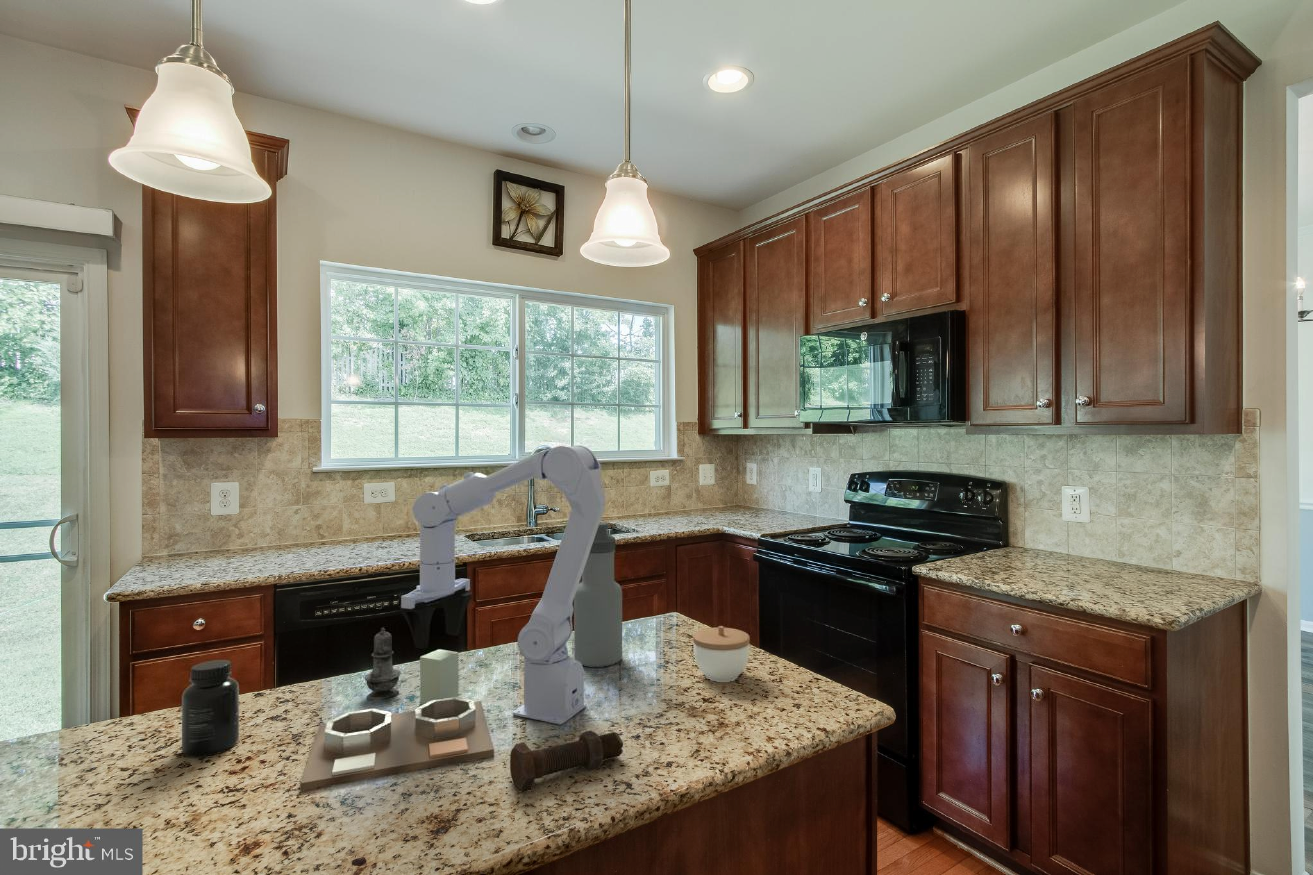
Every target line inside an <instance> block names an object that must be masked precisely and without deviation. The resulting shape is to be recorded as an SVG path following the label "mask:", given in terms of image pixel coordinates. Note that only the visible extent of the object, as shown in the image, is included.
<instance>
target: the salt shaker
mask: <svg viewBox="0 0 1313 875" xmlns="http://www.w3.org/2000/svg"><path fill="white" fill-rule="evenodd" d="M385 630H386V629H385V627H384V626H383V627H381V629H380V631H379V632H378V633H376V634H375V636H374V638H373V653H371V657H373V667H372V670H371V672H369V673H367V674H366V675H365V676H364V680H365V681H366V687H367V688H368V689H369V690H371V692H369V693H367V695H366V700H367V701H369V702H375V703H376V702H377V703H379V702H385V701H389V700H392V699H395V698H396V697H398V696H399V694H400V691H399V690H398V689H396V688H395V687H396V686H397V685H398V682H399V679H400V676H401V674H402V673H401V670H398V669H396V668H395V669H394V667H393V655H394V653H395V652H394V650H392V644H393V642H392V634H391V633H390V632H388V631H385Z"/></svg>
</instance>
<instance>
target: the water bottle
mask: <svg viewBox="0 0 1313 875" xmlns="http://www.w3.org/2000/svg"><path fill="white" fill-rule="evenodd" d="M607 530H609V523H608V522H606V521H600V523H599V526H598V529H597V532H596V535H595V538H594V541H593V544H592V547H591V550H590V553H589V556H588V558H587V561H586V564H585V567H584V570H583V573H582V576H581V581H580V582H579V585H578V588H577V591H576V594H575V596H574V599H573V608H574V611H573V615H574V616H573V617H574V618H573V622H574V624H573V627H574V628H573V630H574V632H573V634H574V635H573V636H574V637H573V638H574V639H573V641H574V644H573V645H574V646H573V648H574V649H573V650H574V651H573V652H574V658H573V659H574V660H577V661H579V662H581V664H582V666H583V665H584V666H583V667H587V666H589V668H604V666H606V667H609V665H610V666H613V665H616V664H617V663H619V662H620V661H621V660H622V658H623V590H622V587H621V585H620V584H619V583H618V582H616V580H615V553H616V537H615V536H613V535H612V534H607V533H608V532H607ZM615 663H616V664H615Z"/></svg>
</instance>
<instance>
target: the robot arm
mask: <svg viewBox="0 0 1313 875" xmlns="http://www.w3.org/2000/svg"><path fill="white" fill-rule="evenodd" d="M601 470H602V464H601V463H600V461H599V460H598V459H597V457H596V456H595V454H594V452H592V450H590V449H589V448H588V447H586V446H584V445H572V446H567V445H556V446H555V447H552V448H551V449H550V450H549V449H546V450H541V451H539V452H536V453H533V454H530V455H529V456H527V457H524V458H522V459H520V460H518V461H516V462H514V463H512V464H510V465H508V466H506V467H504V468H501V469H499V470H498V471H495V472H494V473H492V474H490V475H487V474H484V473H481V472H476V473H474V472H473V471H472V472H471V471H469V472H467V473H465V474H463V475H462V476H463V478H462V479H460V480H458V481H455V482H454V483H453V482H452V483H451V484H448V483H446V484H442V485H440V486H439V490H438V491H435V492H433V491H426V492H424V493H422V495H420V496H418V497H417V499H416V500H415V501H414V503H413V506H412V514H413V517H414V519H415V520H416V522H417V523H418V524H419V585H416V587H415V588H416V589H414V590H412V591H410V592H409V593H407V594H404V595H401V596H400V598H401V599H400V600H401V601H400V607H399V608H400V612H401V614H402V616H403V618H404V619H405V621H406V623H407V624H408V627H409V630H410V632H411V636H412V639H413V643H414V647H415V648H418V649H423V650H424V649H427V648H428V647H429V641H430V628H431V622H432V617H433V614H434V612H435V609H436V608H435V607H429V606H428V605H427V604H426V603H429V602H431V601H435V600H438V599H440V600H441V602H442V606H443V611H444V619H445V633H446V635H450V636H459V634H460V629H461V625H462V622H463V618H464V616H465V612H466V610H467V607H468V605H469V603H470V602H471V600H472V599H473V596H472V595H473V594H472V592H469V591H470V590H471V587H470V586H471V584H470V583H471V581H470V580H471V579H469V578H458V579H456V522H457V520H458V519H459V518H460V517H463V516H465V515H467V514H470V513H472V512H475V511H476V510H479V509H481V508H484V507H486V506H488V505H491V504H492V503H493V501H494V499H495V497H496V494H498V493H499V492H502V491H504V490H508V489H510V488H512V487H515V486H518V485H520V484H522V483H525V482H527V481H529V480H532V479H538V480H548V481H549V482H550V483H551V484H552V485H553V486H555V487H556V488H557V489H558V490H559V491H560V492H561V493H563V494H564V497H565V498H566V500H567V502H568V504H569V505H570V508H571V510H570V513H569V516H568V520H567V523H566V526H565V528H564V532H563V535H562V536H561V540H560V543H559V547H558V549H557V552H556V555H555V558H554V561H553V564H552V567H551V569H550V573H549V576H548V578H547V582H546V584H545V587H544V590H543V593H542V597H541V598H540V600H539V602H538V603H537V605H536V607H535V608H534V610H533V612H532V613H531V615H530V619H529V621H528V622H527V623H526V624H525V625H524V627H522V629H521V630H520V631H519V633H518V635H517V647H518V651H519V653H520V654H521V655H522V657H523V704H522V705H521V706H519V707H517V708H516V709H514V710H513V711H512V715H513V716H517V717H523V718H527V719H532V720H536V721H543V722H546V723H550V724H555V725H562V724H564V723H565V722H567V721H568V720H570V719H571V718H572V717H574V716H575V715H576V714H578V713H579V712H580V711H581V710H583V709H584V708H585V707H587V703H586V702H585V683H584V682H585V673H584V666H583V665H582V664H581V662H579V661H577V660H575V658H572V657H571V656H570V655H569V651H568V647H567V642H568V641H569V640H570V638H571V636H572V633H573V622H572V617H573V615H574V596H575V594H576V591H577V588H578V585H579V584H580V583H581V580H582V573H583V570H584V567H585V564H586V561H587V558H588V556H589V553H590V550H591V547H592V544H593V541H594V538H595V535H596V532H597V529H598V526H599V523H600V522H601V520H602V517H603V514H604V511H605V508H606V501H607V500H606V496H605V492H604V491H605V490H604V485H603V480H602V475H601V474H602V472H601Z"/></svg>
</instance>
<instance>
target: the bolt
mask: <svg viewBox="0 0 1313 875" xmlns="http://www.w3.org/2000/svg"><path fill="white" fill-rule="evenodd" d="M623 747H624V742H623V740H622V738H621V737H620V735H619V733H617V732H616V731H612V732H609V733H604V734H600V735H599V734H598V733H596V732H595V731H593V730H587V731H582V733H581V734H580V735H579V737H578V740H574V741H571V742H567V743H562V744H557V745H554V746H549V747H545V748H541V749H539V748H537V749H532V750H531V748H530V747H529V746H528V745H527V744H526V742H524V741H522V742H520V743H519V742H518V743H516V744H515V745H514V746H513V747H512V748H511V751H510V758H509V770H510V771H509V772H510V777H511V780H512V784H513V786H514V788H515V789H516V790H517V792H520V793H522V794H523V793H526V792H529V791H530V792H531V791H532V789H533V786H534V782H535V780H537V779H538V780H539V779H541V778H543V777H544V776H546V777H547V776H549V775H552V774H555V773H556V774H557V773H559V772H563V771H564V772H565V771H568V770H573V769H575V768H580V767H582V768H583V767H584V768H583V769H584V770H586V771H589V772H591V771H594V770H595V771H596V770H598V769H599V768H600V767H601V766H602V764H603V761H606V760H609V759H610V760H611V759H613V758H618V757H620V756H621V755H622V754H623V753H624V752H623Z"/></svg>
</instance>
